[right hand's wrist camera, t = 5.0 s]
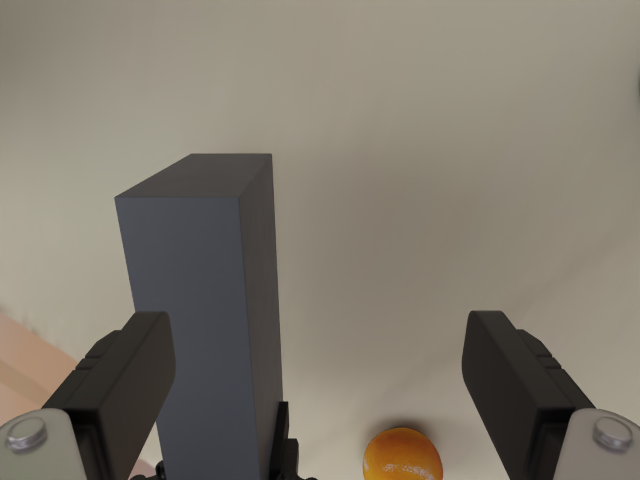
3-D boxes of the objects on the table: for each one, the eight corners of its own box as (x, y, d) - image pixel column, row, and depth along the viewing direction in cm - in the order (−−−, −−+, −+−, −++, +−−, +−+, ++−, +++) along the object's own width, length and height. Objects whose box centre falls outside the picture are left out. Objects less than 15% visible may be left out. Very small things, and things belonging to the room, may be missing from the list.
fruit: (338, 479, 48) (386, 534, 41) (368, 408, 48) (420, 452, 41) (387, 479, 53) (437, 528, 46) (413, 414, 53) (467, 455, 46)
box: (190, 153, 31) (113, 197, 20) (272, 153, 31) (239, 197, 20) (221, 420, 40) (179, 552, 29) (284, 421, 40) (266, 554, 29)
